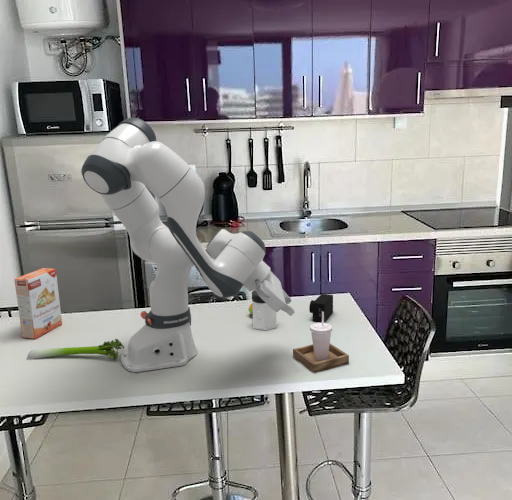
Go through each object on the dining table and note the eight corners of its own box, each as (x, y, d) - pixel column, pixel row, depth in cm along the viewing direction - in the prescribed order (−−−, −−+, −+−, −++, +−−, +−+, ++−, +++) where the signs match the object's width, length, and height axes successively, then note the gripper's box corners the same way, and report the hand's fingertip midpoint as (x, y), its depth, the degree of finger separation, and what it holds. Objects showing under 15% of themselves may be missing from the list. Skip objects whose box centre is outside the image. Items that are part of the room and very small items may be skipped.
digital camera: (318, 311, 193) (318, 293, 191) (333, 313, 191) (333, 294, 189) (309, 321, 184) (308, 302, 182) (324, 323, 182) (324, 303, 180)
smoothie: (336, 360, 152) (336, 314, 148) (315, 364, 150) (314, 317, 147) (327, 351, 158) (326, 307, 154) (306, 355, 156) (306, 310, 153)
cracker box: (36, 340, 177) (27, 279, 172) (21, 338, 179) (12, 278, 174) (63, 324, 189) (56, 267, 185) (50, 323, 191) (42, 267, 186)
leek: (37, 358, 168) (129, 351, 164) (27, 371, 161) (122, 364, 158) (32, 341, 165) (125, 334, 162) (21, 353, 159) (117, 346, 156)
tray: (313, 372, 146) (313, 364, 146) (293, 357, 157) (292, 349, 156) (348, 363, 151) (348, 355, 150) (326, 348, 161) (326, 341, 161)
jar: (247, 328, 180) (245, 294, 177) (259, 319, 187) (257, 287, 184) (270, 332, 176) (269, 297, 173) (282, 323, 182) (281, 290, 180)
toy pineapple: (247, 319, 188) (246, 305, 186) (251, 309, 197) (250, 295, 196) (266, 319, 187) (266, 305, 186) (269, 309, 196) (269, 295, 195)
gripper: (264, 278, 138) (303, 312, 140) (262, 258, 158) (295, 288, 160) (248, 295, 139) (286, 329, 141) (247, 273, 159) (281, 303, 161)
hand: (291, 307), depth 151 cm, fingers open, 8 cm apart
